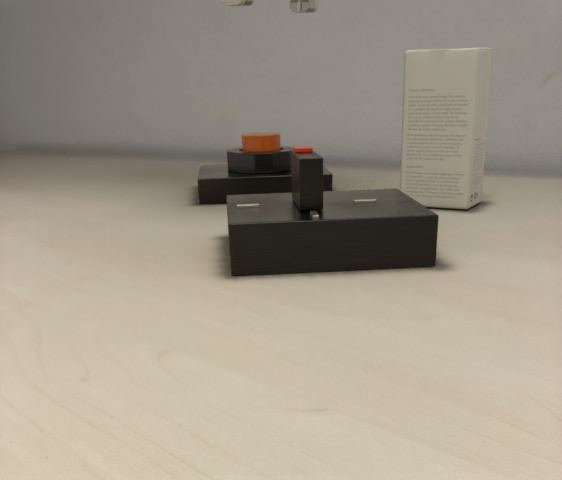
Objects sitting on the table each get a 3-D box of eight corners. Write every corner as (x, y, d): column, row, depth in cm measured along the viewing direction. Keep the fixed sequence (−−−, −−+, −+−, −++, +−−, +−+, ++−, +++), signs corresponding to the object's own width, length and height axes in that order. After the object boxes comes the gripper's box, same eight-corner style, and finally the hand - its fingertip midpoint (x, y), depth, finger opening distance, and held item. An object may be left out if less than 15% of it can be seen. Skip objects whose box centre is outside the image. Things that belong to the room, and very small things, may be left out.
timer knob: (323, 209, 42) (323, 153, 41) (300, 211, 42) (299, 154, 41) (313, 197, 46) (312, 146, 45) (291, 198, 46) (290, 146, 45)
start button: (243, 156, 64) (242, 136, 64) (241, 152, 68) (241, 133, 67) (282, 155, 65) (281, 134, 64) (279, 150, 68) (278, 131, 67)
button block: (199, 204, 63) (196, 157, 61) (201, 187, 72) (198, 146, 70) (332, 198, 63) (332, 152, 62) (317, 182, 73) (317, 142, 71)
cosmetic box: (482, 202, 60) (496, 47, 55) (467, 211, 56) (480, 46, 52) (414, 198, 63) (422, 50, 58) (396, 205, 59) (402, 49, 55)
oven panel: (231, 275, 40) (228, 220, 39) (228, 238, 50) (226, 192, 48) (435, 266, 41) (439, 212, 40) (396, 231, 50) (397, 185, 49)
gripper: (215, -302, 37) (228, -3, 42) (373, -193, 53) (368, 13, 58) (124, -272, 40) (148, 4, 45) (299, -178, 56) (301, 17, 61)
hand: (273, 9), depth 52 cm, fingers open, 8 cm apart
